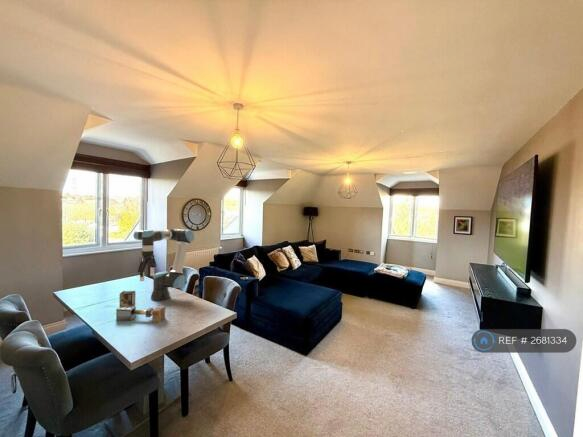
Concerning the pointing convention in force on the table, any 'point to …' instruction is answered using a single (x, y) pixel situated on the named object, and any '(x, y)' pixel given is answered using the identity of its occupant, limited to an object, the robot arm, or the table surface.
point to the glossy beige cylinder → (144, 312)
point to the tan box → (158, 314)
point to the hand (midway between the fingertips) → (147, 278)
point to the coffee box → (127, 298)
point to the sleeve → (125, 313)
